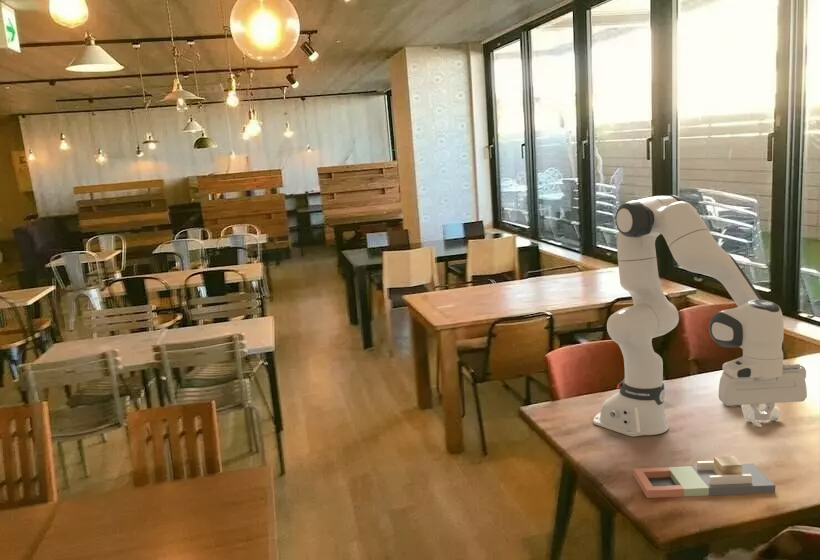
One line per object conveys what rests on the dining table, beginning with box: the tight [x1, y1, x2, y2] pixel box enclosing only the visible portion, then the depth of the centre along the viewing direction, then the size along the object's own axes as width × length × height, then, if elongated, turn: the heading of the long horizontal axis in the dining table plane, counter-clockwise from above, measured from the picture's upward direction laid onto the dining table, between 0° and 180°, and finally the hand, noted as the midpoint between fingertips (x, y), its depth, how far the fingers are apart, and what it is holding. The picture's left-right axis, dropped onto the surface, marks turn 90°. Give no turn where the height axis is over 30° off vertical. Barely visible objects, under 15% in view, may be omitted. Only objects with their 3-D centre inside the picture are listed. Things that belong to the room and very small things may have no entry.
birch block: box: [713, 455, 743, 475], centre depth 172 cm, size 5×5×4 cm
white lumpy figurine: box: [740, 404, 782, 428], centre depth 207 cm, size 6×8×12 cm
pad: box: [667, 465, 710, 497], centre depth 173 cm, size 6×12×2 cm, turn 178°
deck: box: [632, 463, 776, 499], centre depth 173 cm, size 31×12×2 cm, turn 88°
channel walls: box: [696, 460, 752, 485], centre depth 173 cm, size 10×9×2 cm
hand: (761, 419), depth 169 cm, fingers closed
